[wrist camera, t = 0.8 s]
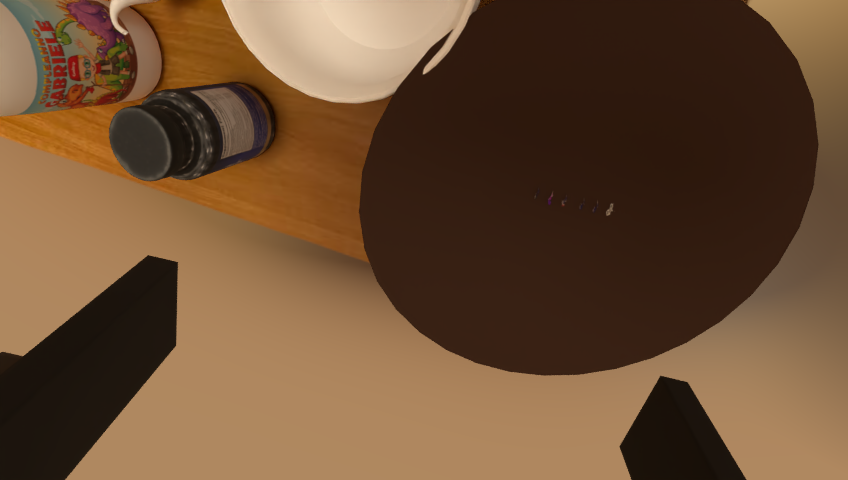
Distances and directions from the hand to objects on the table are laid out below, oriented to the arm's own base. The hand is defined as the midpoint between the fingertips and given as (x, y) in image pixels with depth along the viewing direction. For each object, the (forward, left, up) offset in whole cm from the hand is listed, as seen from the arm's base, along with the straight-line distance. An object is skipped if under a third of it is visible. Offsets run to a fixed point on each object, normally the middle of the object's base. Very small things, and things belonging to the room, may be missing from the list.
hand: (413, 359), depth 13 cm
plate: (-2, +4, -23) cm, 23 cm away
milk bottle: (+21, -27, -25) cm, 42 cm away
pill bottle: (+16, -16, -25) cm, 34 cm away
